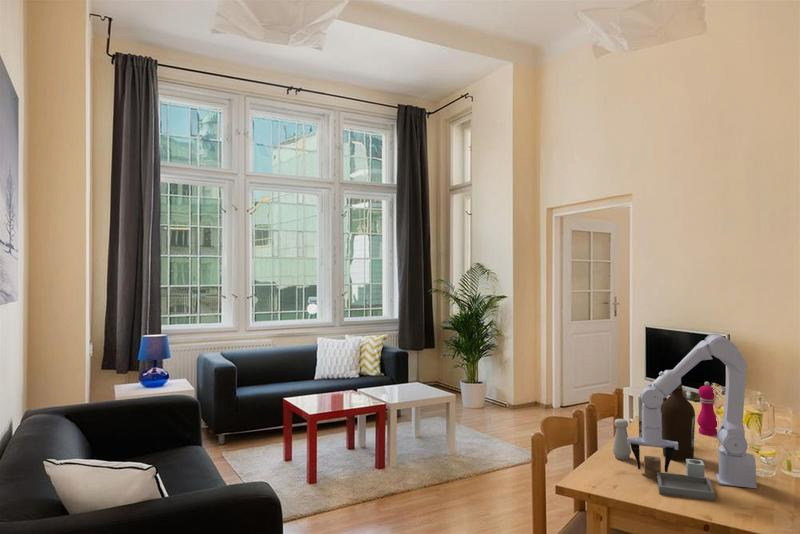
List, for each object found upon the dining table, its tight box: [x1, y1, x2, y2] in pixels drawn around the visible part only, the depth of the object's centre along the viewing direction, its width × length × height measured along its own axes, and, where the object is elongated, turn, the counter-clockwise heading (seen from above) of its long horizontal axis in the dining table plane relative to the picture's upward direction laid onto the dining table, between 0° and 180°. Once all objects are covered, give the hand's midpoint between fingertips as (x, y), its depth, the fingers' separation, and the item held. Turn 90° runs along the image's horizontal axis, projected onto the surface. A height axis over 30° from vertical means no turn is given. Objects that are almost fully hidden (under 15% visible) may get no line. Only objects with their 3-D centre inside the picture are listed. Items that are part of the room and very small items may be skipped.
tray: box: [656, 471, 716, 502], centre depth 162 cm, size 14×12×2 cm
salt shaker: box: [612, 418, 632, 461], centre depth 190 cm, size 6×6×13 cm
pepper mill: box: [696, 381, 718, 437], centre depth 216 cm, size 7×7×20 cm
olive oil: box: [661, 383, 696, 462], centre depth 190 cm, size 11×11×25 cm
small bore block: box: [643, 455, 662, 478], centre depth 175 cm, size 4×4×5 cm
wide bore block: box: [685, 458, 706, 477], centre depth 171 cm, size 4×4×5 cm
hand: (652, 469), depth 175 cm, fingers open, 7 cm apart
